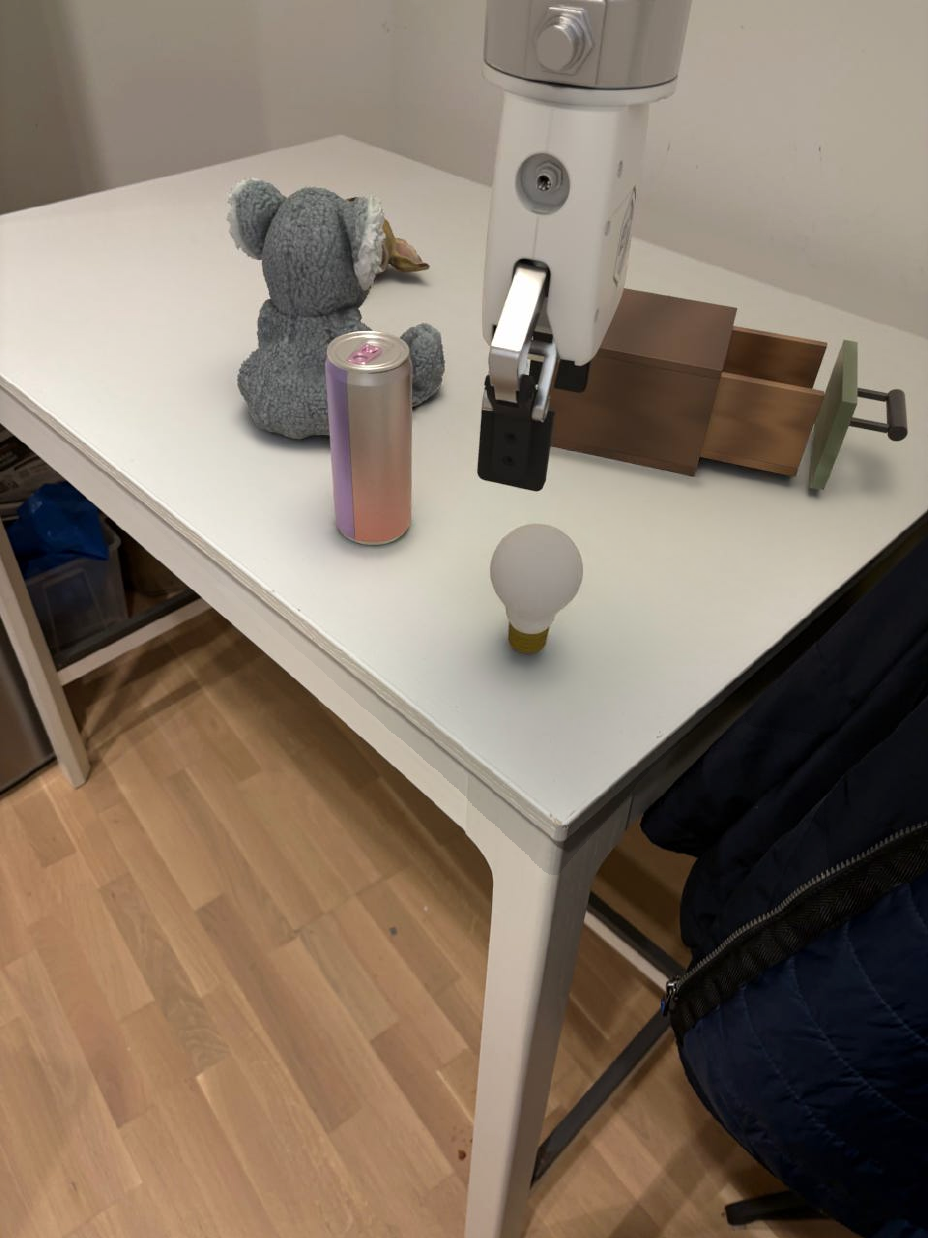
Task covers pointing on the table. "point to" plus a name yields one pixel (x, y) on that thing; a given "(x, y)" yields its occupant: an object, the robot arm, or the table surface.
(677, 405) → the cabinet
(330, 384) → the beverage can
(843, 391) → the drawer
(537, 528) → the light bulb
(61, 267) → the table surface
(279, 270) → the koala plush
